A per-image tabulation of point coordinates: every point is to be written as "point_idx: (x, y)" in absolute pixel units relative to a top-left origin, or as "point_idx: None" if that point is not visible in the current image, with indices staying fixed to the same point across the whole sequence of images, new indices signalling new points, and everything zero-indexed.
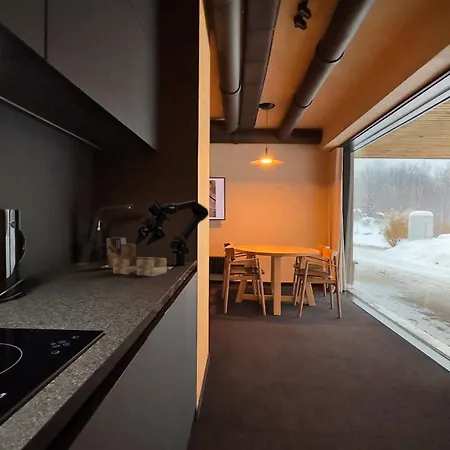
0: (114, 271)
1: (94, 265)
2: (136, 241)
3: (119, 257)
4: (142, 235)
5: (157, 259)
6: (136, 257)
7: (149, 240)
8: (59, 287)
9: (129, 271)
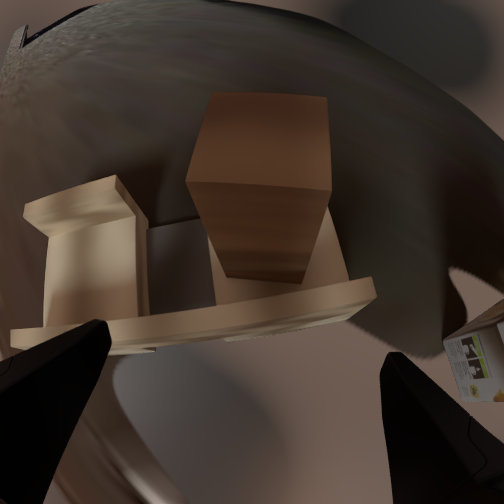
0: None
1: None
2: (403, 367)
3: (491, 319)
4: None
5: (58, 328)
6: (258, 299)
7: (43, 347)
8: (217, 26)
9: None
